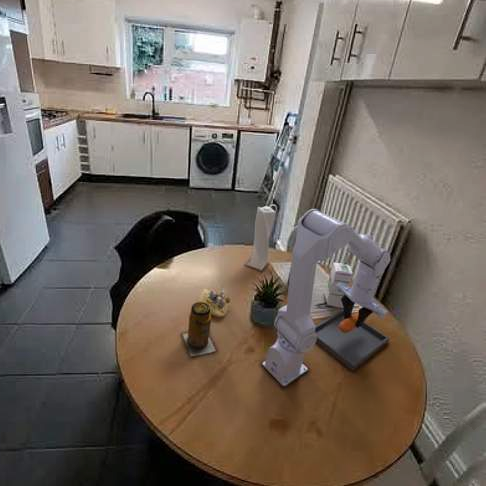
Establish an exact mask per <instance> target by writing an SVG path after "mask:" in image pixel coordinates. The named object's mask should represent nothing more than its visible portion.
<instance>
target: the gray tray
mask: <svg viewBox="0 0 486 486" xmlns="http://www.w3.org/2000/svg"><path fill="white" fill-rule="evenodd" d="M353 314H354V313H353V312H352V313H351V316H352V315H353ZM343 320H345V319H344V308H342V309H341V310H340V311H338V312H337V313H334V314H333V315H331V316H329V317H328V318H326V319H325V320H323V321H321V322H320V323H318V324H315V327H316V328H315V332H316V334H317V340H316V343H317V344H318V345H319V346H320V347H321V348H322V349H324V350H325V351H326V352H327V353H329V354H330V355H332V356H333V357H334V358H335V359H337V361H339V362H340V363H342V365H344V366H345V367H346V368H348V369H349V370H350V371H351V372H353V371H355V370H356V369H357V368H358V367H360V366H361V365H362V364H363V363H364V362H366V361H367V360H368V359H370V358H371V357H372V356H373V355H375V354H376V353H377V352H378V351H380V350H381V349H382V348H383V347H385V345H387V344H388V343H389V340H390V337H388V336H387V335H385V334H383V332H380V331H379V330H378V329H376V328H375V327H373V326H371V325H370V324H369V323H367V322H365V321H364V322H363V323H362V325H361V326H360V327H358V328H357V327H355V328H354V329H352V330H351V331H349V332H348V333H344V332H342V331H341V330H340V329H339V324H340V322H342V321H343Z"/></svg>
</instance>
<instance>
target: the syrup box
mask: <svg viewBox="0 0 486 486" xmlns="http://www.w3.org/2000/svg"><path fill="white" fill-rule="evenodd" d="M352 278H353V270H352V268H351V265H350V264H347V263H341V262H333V263H332V267H331V269H330V274H329V279H328V282H327V286H326V290H325V294H324V298H325V301H326V305H327V306H330V307H333V308H339V309H344V308H343V304H342V302H341V298H342V297H343V296H344V294H343V293H342V292H340V291H336V290H335V289H336V285H337V284H339V283H342V284H343V285H346V286H348V287H351V286H350V285H351V281H352Z"/></svg>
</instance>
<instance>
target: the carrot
mask: <svg viewBox="0 0 486 486" xmlns="http://www.w3.org/2000/svg"><path fill="white" fill-rule="evenodd" d="M352 314H353V315H352V316H350V317H348V318H347V319H345V320H343V321H342V322H340V324H339V329H340V330H341V331H342V332H344V333H348V332H349V331H351V330H352V329H354V328H355V327H356V322H357V319H358V314H359V311H356V312H355V313H352ZM366 320H367V318H366V319H365V320H364V322H365V321H366Z"/></svg>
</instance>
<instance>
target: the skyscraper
mask: <svg viewBox="0 0 486 486" xmlns="http://www.w3.org/2000/svg"><path fill="white" fill-rule="evenodd" d="M272 206H274V207H275V210H274V209H273V208H272ZM277 211H278V207H277V205H276V204H274V203H272V204H270V205H269V206H267V205H265V206H263V207H260V206H257V209H256V214H255V220H254V221H255V222H254V241H253V245H252V250H251V255H250V260H249V261H248V262H247V263H246V264H245V266H246V267H249V268H252V269H254V270H257V271H260V272H262V271H263V270H264V269H265V268H266V267H267V266H268V264H269V262H268V257H269V250H270V249H269V248H270V247H269V244H270V242H269V241H270V240H269V238H270V236H271V234H272V232H273V228H274V225H275V220H276V214H277Z"/></svg>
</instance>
